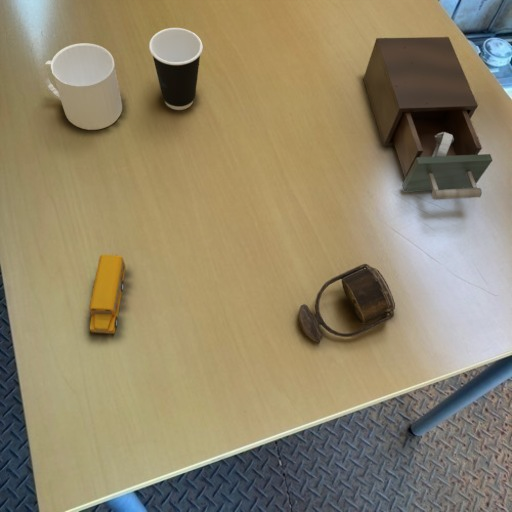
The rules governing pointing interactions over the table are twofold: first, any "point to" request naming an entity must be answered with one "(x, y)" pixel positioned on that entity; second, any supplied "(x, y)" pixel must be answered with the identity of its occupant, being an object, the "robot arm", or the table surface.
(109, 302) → the toy bus
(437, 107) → the cabinet
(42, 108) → the table surface
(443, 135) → the wristwatch
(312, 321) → the mechanical counter
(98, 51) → the mug
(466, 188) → the drawer
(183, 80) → the dixie cup
